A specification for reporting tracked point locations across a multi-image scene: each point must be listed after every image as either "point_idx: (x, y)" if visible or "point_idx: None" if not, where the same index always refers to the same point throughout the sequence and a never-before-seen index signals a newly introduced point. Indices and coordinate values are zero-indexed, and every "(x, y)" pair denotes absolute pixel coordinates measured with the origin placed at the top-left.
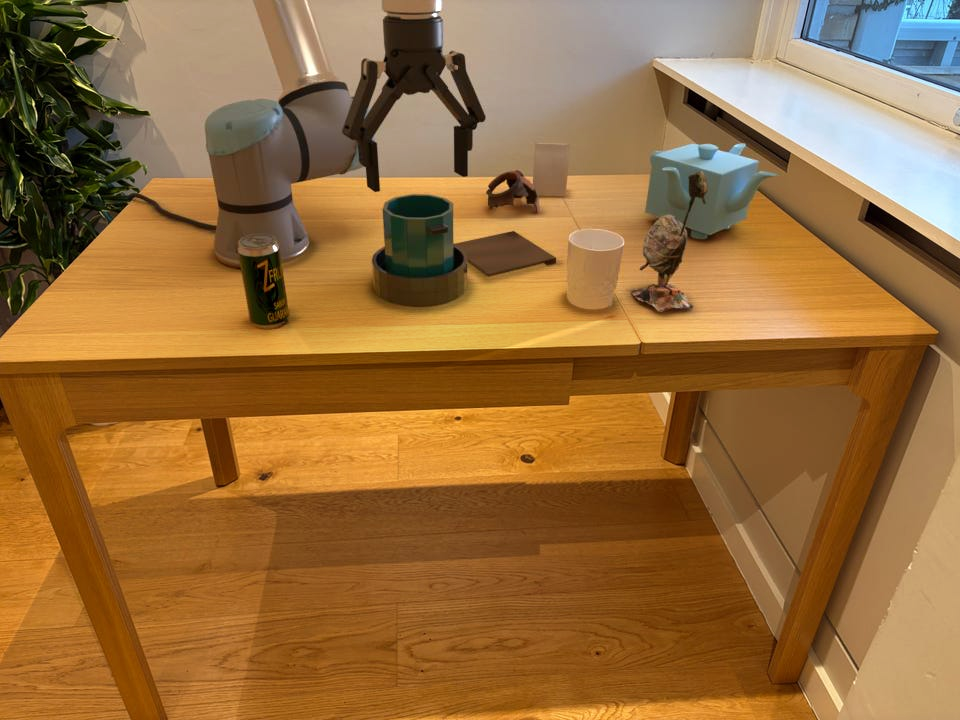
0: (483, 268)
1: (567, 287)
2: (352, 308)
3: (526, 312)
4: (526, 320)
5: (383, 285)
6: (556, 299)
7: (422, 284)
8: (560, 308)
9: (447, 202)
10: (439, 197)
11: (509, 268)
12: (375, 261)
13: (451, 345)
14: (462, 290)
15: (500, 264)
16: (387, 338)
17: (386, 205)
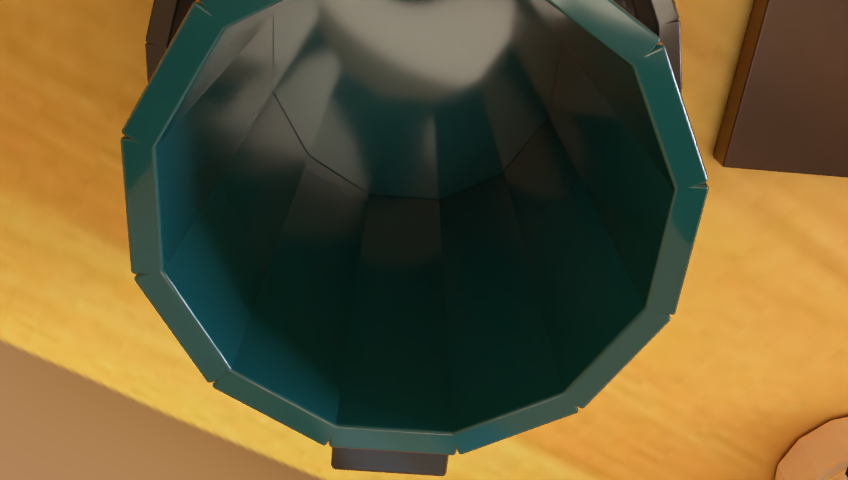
0: (751, 105)
1: (822, 473)
2: (57, 57)
3: (627, 423)
4: (587, 458)
5: None
6: (783, 409)
7: None
8: (739, 457)
9: (651, 280)
10: (678, 156)
11: (840, 173)
12: (173, 1)
13: (287, 454)
14: None
15: (845, 115)
16: (112, 325)
17: (180, 81)
